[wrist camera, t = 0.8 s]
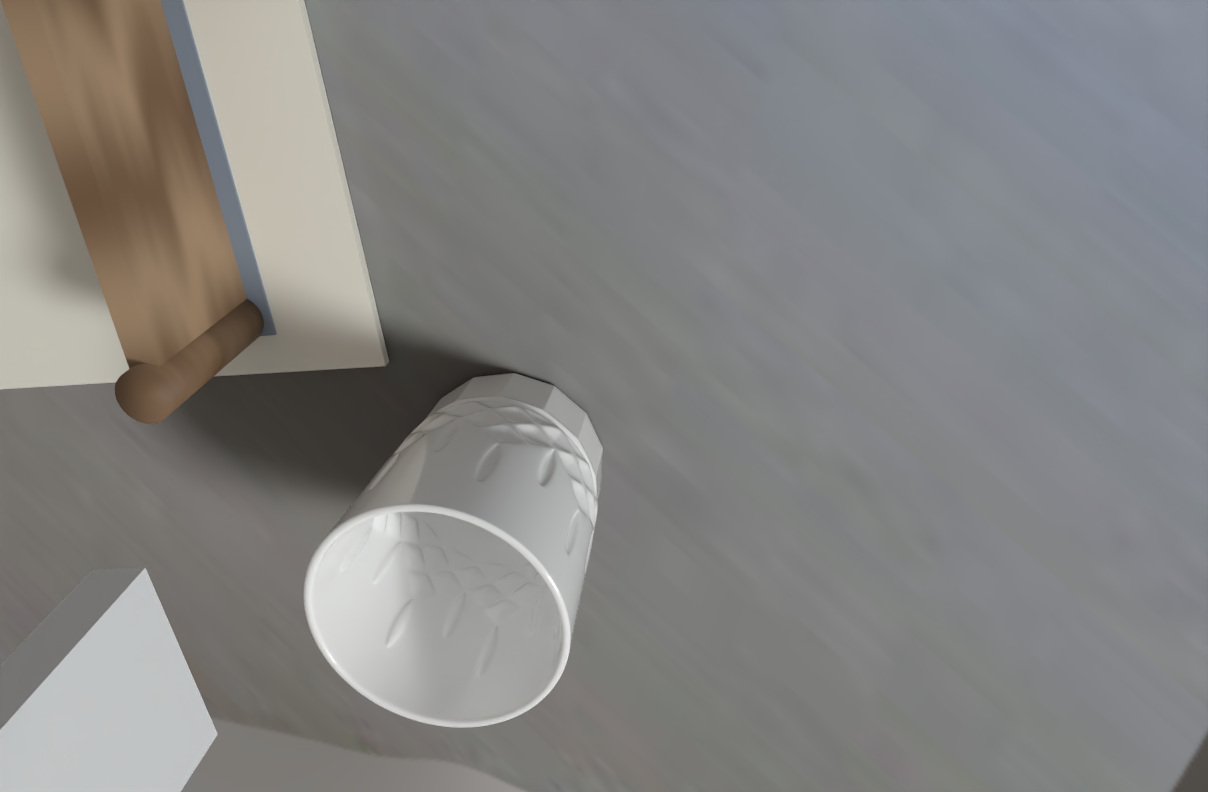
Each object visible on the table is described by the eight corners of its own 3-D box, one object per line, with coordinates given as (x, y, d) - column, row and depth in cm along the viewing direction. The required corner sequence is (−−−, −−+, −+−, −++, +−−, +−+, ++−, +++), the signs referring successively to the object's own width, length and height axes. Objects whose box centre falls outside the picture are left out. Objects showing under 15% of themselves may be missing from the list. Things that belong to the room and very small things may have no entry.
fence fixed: (91, -97, 32) (-61, -92, 26) (143, -106, 32) (2, -102, 26) (225, 342, 38) (125, 425, 33) (270, 339, 38) (178, 422, 32)
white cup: (652, 512, 39) (613, 698, 30) (468, 564, 42) (381, 750, 33) (567, 327, 36) (496, 472, 28) (375, 394, 39) (252, 547, 30)
